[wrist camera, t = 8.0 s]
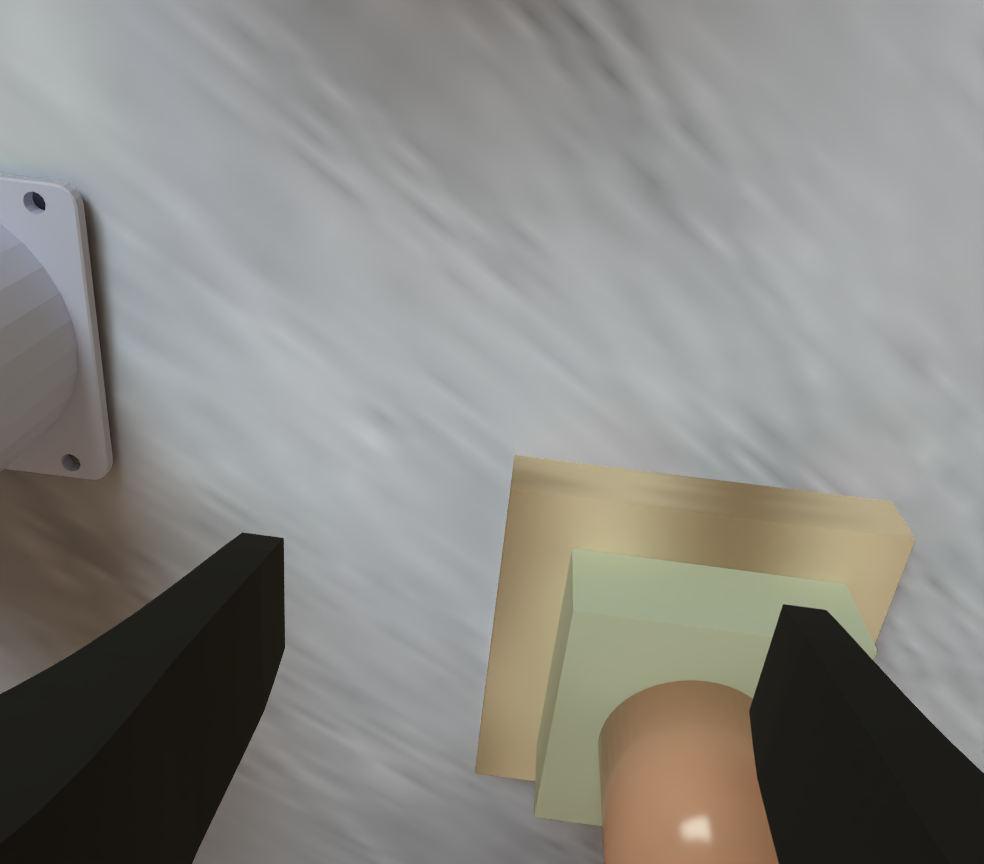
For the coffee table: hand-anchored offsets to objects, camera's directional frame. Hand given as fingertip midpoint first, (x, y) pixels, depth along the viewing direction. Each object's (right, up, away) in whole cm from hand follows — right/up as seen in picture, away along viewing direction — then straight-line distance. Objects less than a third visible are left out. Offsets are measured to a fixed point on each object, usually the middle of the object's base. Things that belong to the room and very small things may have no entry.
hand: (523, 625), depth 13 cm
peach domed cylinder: (+4, -5, +9) cm, 11 cm away
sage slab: (+5, -4, +11) cm, 13 cm away
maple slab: (+5, -3, +13) cm, 15 cm away
